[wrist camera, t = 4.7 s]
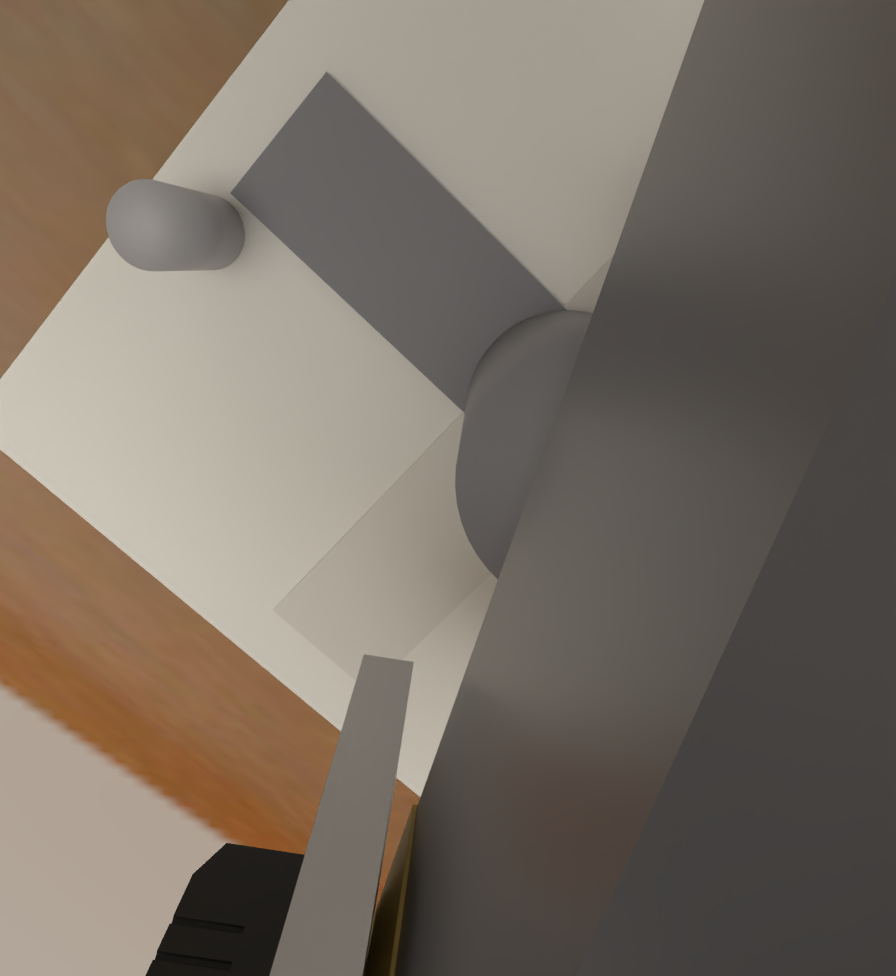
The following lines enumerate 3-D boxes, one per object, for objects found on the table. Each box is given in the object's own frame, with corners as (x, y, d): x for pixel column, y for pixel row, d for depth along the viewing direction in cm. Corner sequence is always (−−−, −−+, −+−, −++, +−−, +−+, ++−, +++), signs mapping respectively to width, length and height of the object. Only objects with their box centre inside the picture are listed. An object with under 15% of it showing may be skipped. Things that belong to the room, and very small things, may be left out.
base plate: (560, -309, 16) (628, -854, 8) (1157, 382, 19) (1621, 464, 11) (4, 411, 20) (-290, 500, 13) (555, 872, 23) (587, 1170, 16)
